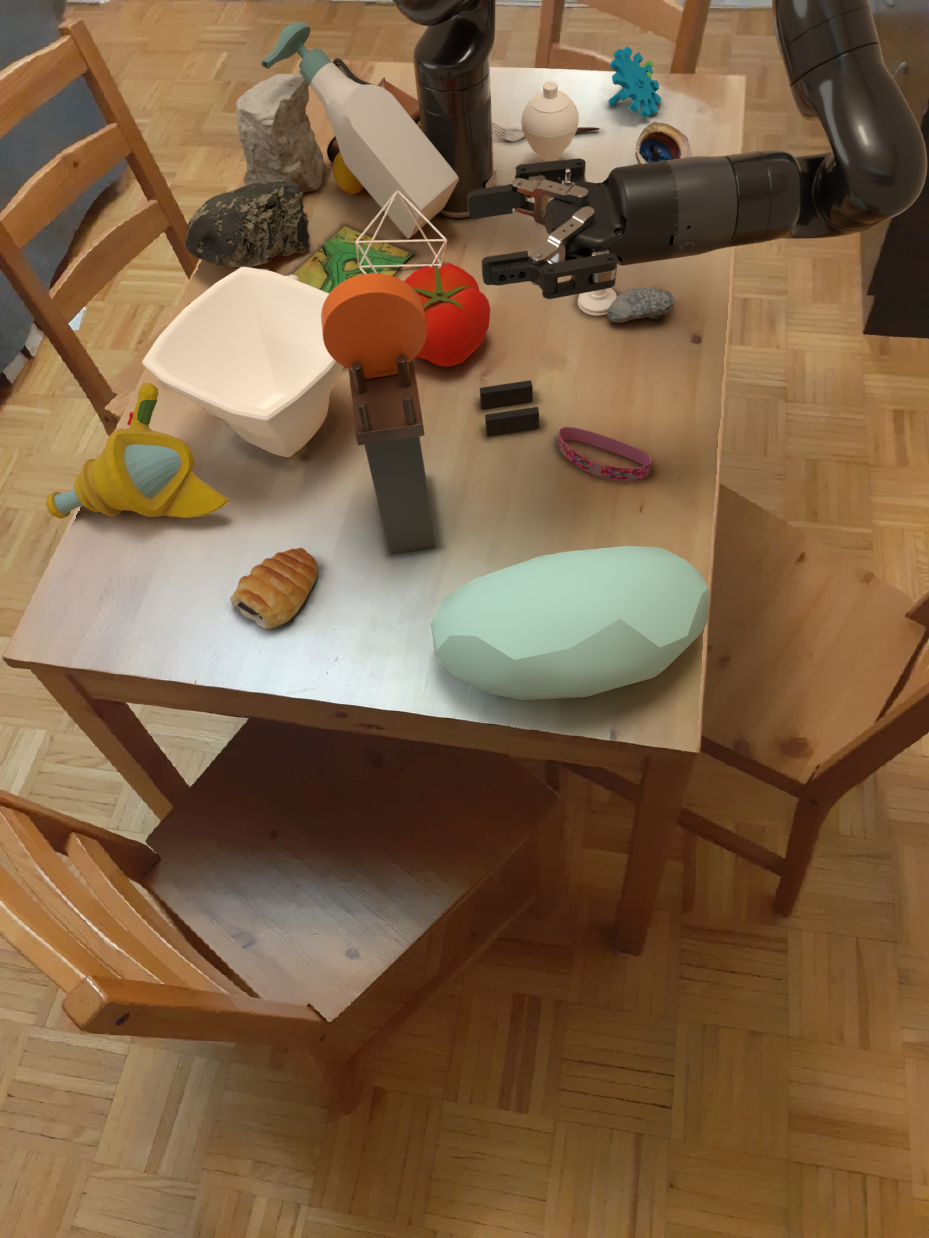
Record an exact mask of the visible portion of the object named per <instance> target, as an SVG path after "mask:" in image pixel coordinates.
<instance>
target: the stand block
mask: <svg viewBox="0 0 929 1238" xmlns="http://www.w3.org/2000/svg"><path fill="white" fill-rule="evenodd" d="M364 450H365V454H366V457H367V461H368V462H367V463H368V466H369V470H370V475H371V479H372V483H373V488H374V492H375V497H376V501H377V506H378V510H379V514H380V518H381V523H382V526H383V531H384V535H385V539H386V540H385V541H386V545H387V548H388V552H389V555H392V554H400V553H405V552H412V551H419V550H426V549H430V548H431V549H432V548H437V543H436V542H437V541H436V535H435V529H434V522H433V515H432V509H431V502H430V496H429V495H430V494H429V489H428V482H427V476H426V469H425V463H424V458H423V457H424V456H423V450H422V444H421V436H419V437H412V438H406V439H399V440H392V441H385V442H379V443H372V444H365V445H364Z"/></svg>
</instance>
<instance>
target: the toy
mask: <svg viewBox="0 0 929 1238" xmlns="http://www.w3.org/2000/svg"><path fill="white" fill-rule="evenodd" d="M138 390H139V391H138V396H137V401H136V404H135V406H134V410H133V411H132V412H129V415H128V417H129V418H128V420H127V423H126V425H127V426H129V427H128V428H119V429H116V430H114V431H113V432H111V434H110V435H109V436H108V438H106V443H105V445H104V449H103V451H102V453H101V454H99V455H98V457H96V458H89V459H88V460H86V461H85V462H84V463H83V465H82V466H81V469H80V473H79V474H77V476H76V477H75V481H74V485H73V487H74V488H73V489H71V490H69V491H65V492H60V491H53V492H50V493H49V494H48V495H47V497H46V501H45V507H46V509H47V512H49V513H50V515H51V516H53V517H55V518H57V519H65V518H67V517H69V516H70V515H71V512H72V511H73V510H75V509H77V508H81V507H83V506H84V508H86V509H88V510H89V511H91V512H94V513H101V514H104V515H107V516H111V517H112V516H118V515H120V514H121V512H122V511H130V512H135V513H137V514H140V515H141V516H145V517H147V518H154V517H156V518H157V517H161V516H165V517H172V518H179V519H182V518H183V519H192V518H199V517H204V516H207V515H210V514H212V513H214V512H216V511H219V510H221V509H222V508H224V507H225V506H226V505H227V504H228V503H229V502H230V498H228V497H226V496H225V495H223V494H222V493H220V492H219V491H217V490H216V489H214V488H213V487H212V486H211V485H209V484H207V483H206V482H204V481H203V480H202V479H201V478H199V477H198V476H196V475H195V473H194V471H193V470H194V467H195V457H194V453H193V451H192V449H191V447H190V446H189V445H188V444H187V443H186V442H184V441H183V440H181V438H179V437H176V436H173V435H171V434H168V433H164V432H159V431H156V430H152V429H151V428H150V423H151V420H152V417H153V412H154V410H155V408H156V405H157V402H158V397H159V388H158V387H156V386H155V385H154V384H153V383H152V382H142V384H141V386H140V388H139V389H138Z"/></svg>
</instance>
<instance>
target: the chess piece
mask: <svg viewBox="0 0 929 1238" xmlns="http://www.w3.org/2000/svg"><path fill="white" fill-rule="evenodd" d="M617 297H618V295H617V293H616V291H615V290H614V289H613V288H608V289H603V290H597V291H592V292H587V293H581V294H578V298H577V306H578V308H579V309H580V310H581V311H582V312H583V313H585V314H587V315H590V316H596V317H597V316H598V317H599V316H605V315H607V312H608V310H609V307H610V305H611V304H612V302H613V301H615V299H616V298H617Z"/></svg>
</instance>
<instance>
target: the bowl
mask: <svg viewBox="0 0 929 1238" xmlns="http://www.w3.org/2000/svg"><path fill="white" fill-rule="evenodd" d="M261 269H262V268H254V267H250V266H249V267H239V268H237V269H235V270H234V271H232V272H231V273H229V274H228V275H226V276H225V277H223V278H222V279H220V280H218V281H217V282H215V283H213V284H212V285H211V286H210V287H209V288H208V289H206V290H205V291H204V292H202V293H201V294H200V295H199V296H198V297H196V298H195V299H193V301H192V302H189V303H190V304H189V303H188V304H189V305H188V304H187V305H188V306H187V305H186V306H187V307H184V308H183V309H182V310H181V311H180V313H179V314H178V315H176V317H175V318H174V319H173V320H172V322H170V323H169V324H168V326H166V328H165V329H164V330H163V331H162V332H161V333H160V334H159V336H157V338H156V339H155V341H154V343H153V344H152V345H151V347H150V349H149V350H148V352H147V354H146V355H145V356H144V358H143V359H142V361H141V363H142V365H143V367H144V368H145V369H146V370H147V371H149V373H150V374H152V375H153V376H154V377H155V378H156V379H158V380H159V381H160V382H161V383H162V384H163V385H165V386H166V387H168V388H170V389H171V390H173V391H174V392H177V393H178V394H179V395H181V396H182V397H184V398H186V399H187V400H189V401H190V402H192V403H193V404H195V405H197V406H198V407H200V408H201V409H203V410H205V411H206V412H207V413H209V414H211V415H213V416H215V417H217V418H219V419H222V420H224V421H225V422H226V423H227V424H228V425H229V426H230V427H231V428H232V429H233V430H234V432H235V433H236V434H237V435H238V436H240V438H242V439H243V440H244V441H245V442H248V443H249V444H251V445H254V446H255V447H257V448H260V449H262V450H264V451H266V452H268V453H270V454H273V455H275V456H279V457H284V458H290V457H292V456H293V455H294V454H296V453H297V452H298V451H300V450H301V449H302V448H303V447H304V446H306V444H307V443H309V441H311V440H312V438H314V436H315V435H316V433H317V432H318V431H319V430H320V429H321V427H322V426H323V423H324V422H325V420H326V417H327V416H328V413H329V405H330V396H331V391H332V390H333V388H334V387H335V385H336V383H337V381H338V379H339V378H340V376H341V375H342V372H343V369H344V368H345V367H344V366H342V365H340V364H339V363H338V362H336V361H335V360H334V359H333V358H332V357H331V355H330V354H329V353H328V351H327V349H326V347H325V345H324V342H323V334H322V323H321V312H322V307H323V304H324V302H325V300H326V298H327V296H328V295H329V293H326V292H324V291H322V290H319V289H317V288H314V287H312V286H309V285H307V284H304V283H302V282H299V281H296V280H294V279H291V278H288V277H286V276H287V275H283V274H281V273H278V272H275V271H272V270H269V271H267V270H261Z"/></svg>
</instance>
